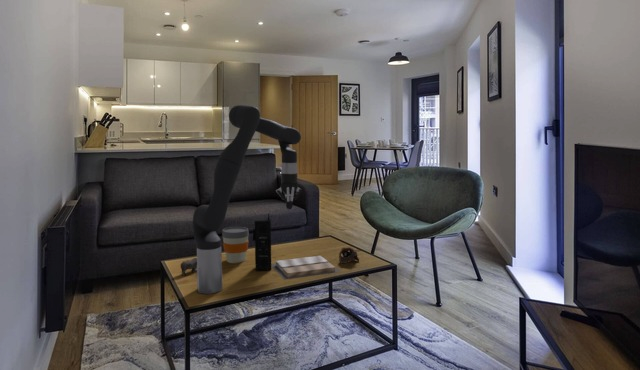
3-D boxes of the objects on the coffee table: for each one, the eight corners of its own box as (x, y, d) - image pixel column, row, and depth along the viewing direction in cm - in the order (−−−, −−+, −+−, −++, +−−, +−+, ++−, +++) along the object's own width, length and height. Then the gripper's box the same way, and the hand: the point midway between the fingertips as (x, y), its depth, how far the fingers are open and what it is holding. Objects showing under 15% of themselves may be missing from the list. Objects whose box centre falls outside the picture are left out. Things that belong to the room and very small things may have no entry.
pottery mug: (364, 264, 202) (359, 252, 197) (347, 275, 199) (342, 262, 195) (351, 252, 212) (346, 239, 207) (335, 261, 209) (330, 249, 205)
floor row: (287, 277, 182) (287, 273, 181) (282, 272, 188) (282, 268, 188) (335, 271, 190) (335, 267, 190) (328, 266, 196) (328, 262, 196)
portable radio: (253, 272, 189) (252, 216, 186) (253, 267, 195) (251, 213, 192) (271, 271, 191) (270, 215, 187) (270, 266, 197) (269, 212, 193)
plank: (281, 271, 189) (281, 267, 189) (275, 264, 197) (275, 260, 197) (327, 265, 198) (327, 261, 197) (320, 259, 206) (320, 255, 206)
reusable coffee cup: (252, 256, 212) (251, 226, 210) (245, 264, 200) (244, 233, 198) (227, 256, 213) (226, 226, 211) (219, 263, 201) (218, 232, 199)
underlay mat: (284, 280, 179) (284, 279, 179) (270, 264, 199) (270, 264, 199) (341, 272, 189) (341, 271, 189) (321, 258, 209) (321, 257, 209)
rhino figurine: (209, 268, 195) (208, 255, 194) (184, 276, 184) (183, 263, 183) (202, 266, 197) (202, 253, 196) (177, 275, 186) (177, 261, 185)
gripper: (277, 173, 195) (277, 211, 197) (305, 172, 199) (305, 209, 202) (273, 171, 202) (273, 208, 204) (300, 171, 206) (299, 207, 208)
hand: (289, 209), depth 203 cm, fingers closed
